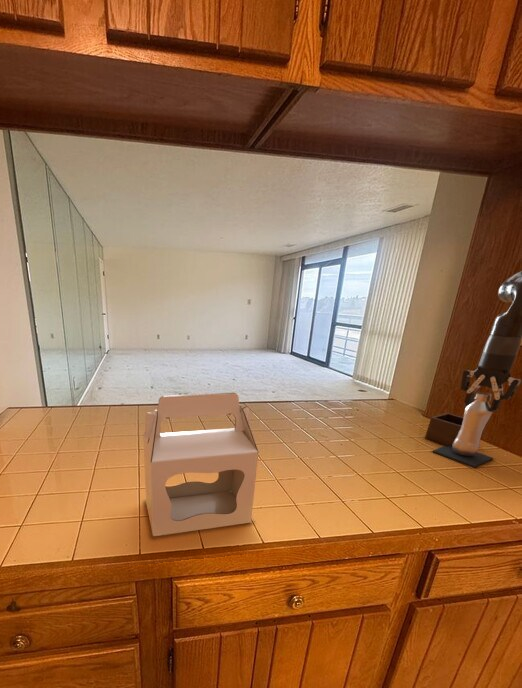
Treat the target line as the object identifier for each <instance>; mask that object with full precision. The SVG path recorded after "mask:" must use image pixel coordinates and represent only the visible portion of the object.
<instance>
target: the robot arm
mask: <svg viewBox="0 0 522 688" xmlns="http://www.w3.org/2000/svg"><path fill="white" fill-rule="evenodd" d="M497 291H498V292H497V296H498V299H499V300H500V301H502V302H503V303H506V304H511V305H510V307H509V308H508V310H507V311H506V312H502V313H499V314H498V315H497V316H496V317H495V318H494V322H493V325H492V327H491V331H490V333H489V336H488V338H487V340H486V342H485V344H484V346H483V350H482V353H481V356H480V359H479V361H478V365H477V368H476V369H475V370H470V369H466V370H464V371H462V378H461V384H460V389H461V391H465V392H466V395H465V398H464V401H463V402H464V404H465V407H466V406H467V405H468V404H470V403H471V402H473V401H474V397H475V395H476V393H475V392H477V390H478V389H479V388H481V387H487V388H489V389H490V388H491V389H492V392H493V396H494V399H492V403H491V404H490V406H491V407H490V410H489V411H490V412H492V413H494V412H496V411H499V409H500V406H501V403H502V401H503V400H504V401H505V400H508V399H512V398H513V396H514V394H516V391H517V390H518V388H519V387H520V385H521V384H522V379H521V378H515V377H512V376H511V371H512V369H513V366H514V363H515V361H516V358H517V356H518V353H519V351H520V348H521V344H522V270H521V271H518V272H517V273H515V274H513V275H511V276H510V277H508V278H506V279H505V280H504V281H503V282H502V283H501V285H500V286H499V288H498V290H497ZM473 377H474V378H475V381H474V382H473V383H472V384H471V379H472V378H473ZM506 382H508V388H507V390H506V391H505V393H504V386H503V385H504V383H506ZM470 385H471V386H470Z"/></svg>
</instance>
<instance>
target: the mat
mask: <svg viewBox="0 0 522 688" xmlns="http://www.w3.org/2000/svg"><path fill="white" fill-rule="evenodd" d="M432 453H434V454H436V455H439V456H441V457H444V458H447V459H449V460H452V461H455V462H457V463H460V464H463V465H466V466H469V467H471V468H472V469H473V468H474V469H475V468H477V467H479V466H481V465H484V464H485V463H488V462H490V461H492V460H494V457H492V456H489V455H486V454H484V453H480V452H478V451H477V453H476V454H475V455H473V456H465V455H461V454H458V453H456V452H454V451H453V449H452V446H450V445H447V446H445V445H443V446H441V447H439V448H437V449H434V450H432Z"/></svg>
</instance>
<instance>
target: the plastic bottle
mask: <svg viewBox="0 0 522 688" xmlns="http://www.w3.org/2000/svg"><path fill="white" fill-rule="evenodd" d="M475 392H476V393H475V395H474V398H473V401H472V402H471V403H470V404H468V405H467V406H466V405H465V408H464V412H463V416H462V417H463V422H462V426H461V429H460V431H459V433H458V435H457V438H456V439H455V440H454V442H453V445H452V449H453V451H454V452H456V453H458V454H461V455H465V456H473V455H475V454H476V453H477V452H478V451H479V449H480V441H481V438H482V434H483V431H484V429H485V427H486V424H487V423H488V421H489V420H490V418H491V416H492V414H493V412H490V411H489V410H490V407H491V403H490V402H491V400H492V394H491V393H489V392H485V391H483V392H482V391H475Z"/></svg>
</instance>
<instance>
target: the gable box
mask: <svg viewBox="0 0 522 688" xmlns="http://www.w3.org/2000/svg"><path fill="white" fill-rule="evenodd" d="M223 415H227V416H231V415H233V417H234V427H230V428H228V427H227V428H215V429H204V430H203V429H201V430H190V431H174V432H162V429H161V427H162V426H161V425H162V422H163V421H164V420H165V419H166V420H169V419H175V418H176V419H178V418H193V417H208V416H223ZM161 432H162V433H161ZM253 435H254V434H253V433H252V430H251V427H250V407H249V406H243V407H242V406H241V405H240V397H239V395H238V393H236V392H219V393H202V394H201V393H197V394H196V393H195V394H179V395H177V394H176V395H175V394H174V395H162V396H160V397H159V399H158V402H157V409H154V410H153V412H149V411H147V412H146V413H145V430H144V433H143V435H142V437H143V462H144V487H145V488H144V489H145V504H146V509H147V515H148V520H149V523H150V528H151V534H152V537H160V536H167V535H173V534H174V535H175V534H181V533H187V532H188V533H189V532H194V531H200V530H208V529H215V528H222V527H228V526H237V525H243V524H250V523H252V518H253V508H254V499H255V489H256V488H255V487H256V479H257V470H258V469H257V468H258V462H259V461H258V459H259V449H258V447H257V444H256V440H255V439H254V436H253ZM189 473H190V474H215V473H218V476H217V477H218V478H217V479H216V480H215V481H212V482H204V481H187V482H183V483H180V484H176V485H172V486H166V483H167V481H168V480H169V479H171V478H172V477H174V476H176V475H182V474H189Z"/></svg>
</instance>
